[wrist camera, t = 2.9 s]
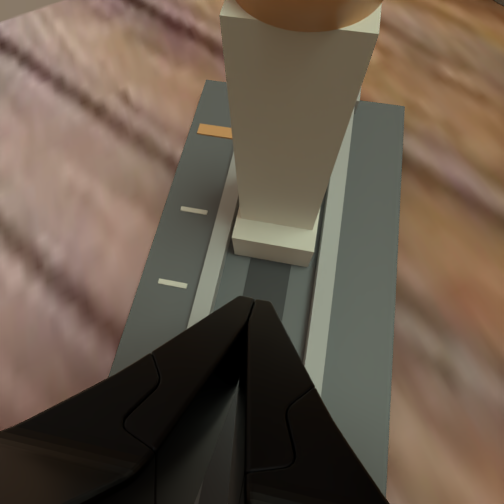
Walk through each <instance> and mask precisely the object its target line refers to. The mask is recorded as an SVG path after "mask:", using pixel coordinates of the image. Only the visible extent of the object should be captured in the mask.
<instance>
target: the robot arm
mask: <svg viewBox="0 0 504 504" xmlns="http://www.w3.org/2000/svg"><path fill="white" fill-rule="evenodd" d="M238 382H239V385H238ZM237 385H238V393H237V403H236V414H235V425H234V436H233V448H232V459H231V470H230V481H229V492H228V503H227V504H389V502H388V501H387V499H386V498H385V496H384V495H383V494H382V492H381V491H380V489H379V488H378V486H377V485H376V483H375V482H374V480H373V479H372V477H371V476H370V475H369V473H368V472H367V470H366V469H365V467H364V466H363V464H362V463H361V461H360V460H359V458H358V457H357V455H356V454H355V453H354V451H353V450H352V448H351V447H350V445H349V444H348V442H347V441H346V439H345V437H344V436H343V434H342V433H341V431H340V430H339V428H338V427H337V425H336V424H335V422H334V420H333V419H332V417H331V415H330V413H329V411H328V410H327V408H326V406H325V404H324V403H323V401H322V399H321V397H320V395H319V393H318V391H317V389H316V388H315V385H314V383H313V382H312V380H311V378H310V376H309V374H308V372H307V370H306V368H305V366H304V364H303V362H302V360H301V358H300V356H299V355H298V353H297V351H296V349H295V347H294V345H293V343H292V341H291V339H290V337H289V335H288V333H287V331H286V329H285V327H284V326H283V324H282V322H281V320H280V318H279V316H278V314H277V312H276V310H275V308H274V306H273V304H272V303H271V302H270V301H266V300H261V299H256V300H255V301H254V299H253V298H250V297H245V296H237V297H236V298H234V299H233V300H231V301H230V302H228V303H227V304H225V305H223V306H222V307H220V308H219V309H217V310H216V311H214V312H213V313H211V314H209V315H208V316H206V317H205V318H203V319H202V320H200V321H199V322H197V323H195V324H194V325H192V326H191V327H189V328H188V329H186V330H185V331H183V332H181V333H180V334H178V335H177V336H175V337H174V338H172V339H171V340H169V341H167V342H166V343H164V344H163V345H161V346H160V347H158V348H157V349H155V350H153V351H152V352H151V353H149V354H147V355H145V356H144V357H142V358H141V359H139V360H138V361H136V362H134V363H133V364H131V365H129V366H128V367H126V368H124V369H123V370H121V371H119V372H118V373H116V374H114V375H112V376H111V377H109V378H107V379H105V380H103V381H101V382H99V383H98V384H96V385H94V386H92V387H90V388H88V389H86V390H84V391H82V392H80V393H78V394H76V395H74V396H73V397H71V398H69V399H67V400H65V401H63V402H61V403H59V404H57V405H55V406H53V407H51V408H49V409H47V410H45V411H43V412H41V413H39V414H37V415H35V416H33V417H32V418H30V419H28V420H26V421H23V422H21V423H19V424H17V425H15V426H13V427H10V428H7V429H5V430H2V431H0V504H194V503H195V500H196V498H197V495H198V492H199V490H200V487H201V484H202V481H203V479H204V476H205V473H206V471H207V468H208V465H209V462H210V460H211V457H212V454H213V452H214V449H215V446H216V443H217V441H218V438H219V435H220V432H221V430H222V427H223V424H224V422H225V419H226V416H227V413H228V411H229V408H230V405H231V403H232V400H233V397H234V394H235V391H236V388H237Z"/></svg>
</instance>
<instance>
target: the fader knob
mask: <svg viewBox="0 0 504 504" xmlns="http://www.w3.org/2000/svg"><path fill="white" fill-rule="evenodd" d="M382 2H383V0H225V1H224V4H223V7H222V10H221V13H220V25H221V34H222V44H223V53H224V63H225V72H226V81H227V91H228V100H229V110H230V119H231V129H232V138H233V148H234V157H235V167H236V176H237V186H238V195H239V209H238V214H237V218H236V222H235V226H234V230H233V234H232V242H233V248H234V253H235V254H236V255H242V256H247V257H253V258H258V259H264V260H270V261H275V262H281V263H286V264H292V265H297V266H303V267H308V266H309V263H310V261H311V258H312V256H313V253H314V249H315V242H316V235H317V228H318V221H319V214H320V207H321V204H322V201H323V198H324V195H325V192H326V189H327V186H328V183H329V180H330V177H331V174H332V171H333V168H334V165H335V162H336V159H337V156H338V153H339V150H340V147H341V144H342V142H343V139H344V136H345V133H346V130H347V127H348V124H349V121H350V118H351V115H352V112H353V109H354V106H355V103H356V100H357V97H358V94H359V91H360V88H361V85H362V82H363V79H364V77H365V74H366V71H367V68H368V65H369V62H370V59H371V56H372V53H373V50H374V47H375V44H376V41H377V38H378V35H379V27H380V16H381V6H382Z"/></svg>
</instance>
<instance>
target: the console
mask: <svg viewBox="0 0 504 504" xmlns="http://www.w3.org/2000/svg"><path fill="white" fill-rule="evenodd" d="M360 92H361V88H360V91H359V94H358V97H357V100H356V103H355V106H354V109H353V112H352V115H351V118H350V121H349V124H348V127H347V130H346V133H345V136H344V139H343V142H342V144H341V147H340V150H339V153H338V156H337V159H336V162H335V165H334V168H333V171H332V174H331V177H330V180H329V183H328V186H327V189H326V192H325V195H324V198H323V201H322V204H321V207H320V214H319V221H318V228H317V235H316V242H315V249H314V253H313V256H312V258H311V261H310V263H309V266H308V267H303V266H297V265H292V264H286V263H281V262H275V261H270V260H264V259H258V258H253V257H247V256H242V255H236V254H235V253H234V248H233V242H232V234H233V230H234V226H235V222H236V218H237V214H238V209H239V195H238V186H237V176H236V167H235V157H234V148H233V138H232V129H231V119H230V110H229V100H228V91H227V82H219V81H212V80H206V82H205V85H204V88H203V91H202V94H201V98H200V101H199V104H198V107H197V110H196V113H195V116H194V119H193V122H192V125H191V128H190V131H189V134H188V137H187V140H186V143H185V146H184V149H183V152H182V155H181V158H180V161H179V164H178V167H177V170H176V173H175V176H174V179H173V183H172V186H171V189H170V192H169V195H168V198H167V201H166V204H165V207H164V210H163V213H162V216H161V219H160V222H159V225H158V228H157V231H156V234H155V237H154V240H153V243H152V246H151V249H150V252H149V255H148V258H147V261H146V264H145V268H144V271H143V274H142V277H141V280H140V283H139V286H138V289H137V292H136V295H135V298H134V301H133V304H132V307H131V310H130V313H129V316H128V319H127V322H126V325H125V328H124V331H123V334H122V337H121V340H120V343H119V346H118V349H117V353H116V356H115V359H114V362H113V365H112V368H111V371H110V374H109V377H111V376H112V375H114V374H116V373H118V372H119V371H121V370H123V369H124V368H126V367H128V366H129V365H131V364H133V363H134V362H136V361H138V360H139V359H141V358H142V357H144V356H145V355H147V354H149V353H151V352H152V351H153V350H155V349H157V348H158V347H160V346H161V345H163V344H164V343H166V342H167V341H169V340H171V339H172V338H174V337H175V336H177V335H178V334H180V333H181V332H183V331H185V330H186V329H188V328H189V327H191V326H192V325H194V324H195V323H197V322H199V321H200V320H202V319H203V318H205V317H206V316H208V315H209V314H211V313H213V312H214V311H216V310H217V309H219V308H220V307H222V306H223V305H225V304H227V303H228V302H230V301H231V300H233V299H234V298H236V297H237V296H245V297H250V298H253V299H254V301H255V300H256V299H261V300H266V301H270V302H271V303H272V304H273V306H274V308H275V310H276V312H277V314H278V316H279V318H280V320H281V322H282V324H283V326H284V327H285V329H286V331H287V333H288V335H289V337H290V339H291V341H292V343H293V345H294V347H295V349H296V351H297V353H298V355H299V356H300V358H301V360H302V362H303V364H304V366H305V368H306V370H307V372H308V374H309V376H310V378H311V380H312V382H313V383H314V385H315V388H316V389H317V391H318V393H319V395H320V397H321V399H322V401H323V403H324V404H325V406H326V408H327V410H328V411H329V413H330V415H331V417H332V419H333V420H334V422H335V424H336V425H337V427H338V428H339V430H340V431H341V433H342V434H343V436H344V437H345V439H346V441H347V442H348V444H349V445H350V447H351V448H352V450H353V451H354V453H355V454H356V455H357V457H358V458H359V460H360V461H361V463H362V464H363V466H364V467H365V469H366V470H367V472H368V473H369V475H370V476H371V477H372V479H373V480H374V482H375V483H376V485H377V486H378V488H379V489H380V491H381V492H382V494H383V495H384V496H385V498H386V483H387V462H388V441H389V420H390V400H391V379H392V358H393V337H394V317H395V296H396V275H397V254H398V234H399V213H400V192H401V172H402V151H403V130H404V109H405V106H398V105H390V104H383V103H375V102H368V101H361V100H360ZM109 377H108V378H109ZM238 385H239V382H238ZM238 385H237V388H236V391H235V394H234V397H233V400H232V403H231V405H230V408H229V411H228V413H227V416H226V419H225V422H224V424H223V427H222V430H221V432H220V435H219V438H218V441H217V443H216V446H215V449H214V452H213V454H212V457H211V460H210V462H209V465H208V468H207V471H206V473H205V476H204V479H203V481H202V484H201V487H200V490H199V492H198V495H197V498H196V500H195V503H194V504H227V503H228V492H229V481H230V470H231V459H232V448H233V436H234V425H235V414H236V403H237V393H238Z"/></svg>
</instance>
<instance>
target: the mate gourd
mask: <svg viewBox="0 0 504 504" xmlns="http://www.w3.org/2000/svg"><path fill="white" fill-rule="evenodd" d="M494 1H496V2H497V3H499V4H501V5H503V6H504V0H494Z"/></svg>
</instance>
